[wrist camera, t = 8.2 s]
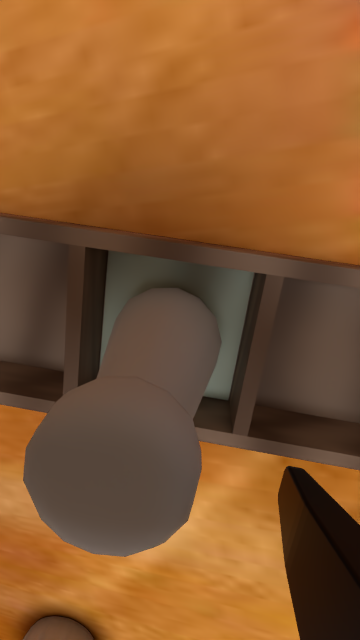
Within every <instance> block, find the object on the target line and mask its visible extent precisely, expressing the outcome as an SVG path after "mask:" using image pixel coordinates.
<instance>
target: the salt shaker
mask: <svg viewBox="0 0 360 640" xmlns="http://www.w3.org/2000/svg"><path fill="white" fill-rule="evenodd" d="M221 343H222V341H221V337H220V332H219V328H218V323H217V319H216V317H215V316H214V315H213V313H212V312H211V311H210V310H209V309H208V307H207V306H206V305H205V304H204V303H203V302H202V300H201V299H200V298H198V297H196V296H194V295H192V294H190V293H188V292H185V291H183V290H181V289H179V288H152V289H149V290H147V291H145V292H143V293H141V294H139V295H137V296H135V297H133V298H131V299H129V300H128V301H127V303H126V304H125V306H124V307H123V309H122V310H121V312H120V313H119V315H118V316H117V318H116V320H115V323H114V326H113V329H112V332H111V335H110V338H109V341H108V344H107V347H106V350H105V354H104V357H103V360H102V363H101V366H100V369H99V372H98V375H97V378H96V379H95V380H93V381H90V382H88V383H86V384H84V385H81V386H79V387H77V388H75V389H72V390H70V391H68V392H67V393H66V394H64V395H63V396H62V397H61V398H60V399H59V400H58V401H57V402H56V403H55V404H54V405H53V407H52V408H51V409H50V411H49V412H48V414H47V415H46V417H45V418H44V419H43V421H42V422H41V424H40V425H39V427H38V428H37V429H36V431H35V433H34V435H33V437H32V438H31V440H30V442H29V444H28V446H27V447H26V453H25V465H24V477H23V481H24V483H25V485H26V487H27V489H28V492H29V494H30V496H31V498H32V500H33V503H34V505H35V507H36V509H37V511H38V513H39V516H40V518H41V520H42V521H44V522H45V523H46V524H47V525H48V526H49V527H50V528H51V529H52V530H53V531H54V532H55V533H56V534H57V535H58V536H59V537H60V538H61V539H62V540H63V541H65V542H67V543H69V544H72V545H74V546H76V547H79V548H81V549H83V550H86V551H88V552H90V553H93V554H101V555H112V556H124V557H126V556H129V555H132V554H135V553H138V552H141V551H144V550H147V549H150V548H153V547H156V546H158V545H160V544H162V543H164V542H166V541H167V540H168V539H169V538H170V537H171V536H172V535H173V534H174V533H175V532H176V531H177V530H178V529H179V528H180V527H182V526H183V525H184V524H185V523H186V522H187V521H188V518H189V515H190V511H191V508H192V505H193V501H194V498H195V493H196V489H197V485H198V481H199V477H200V473H201V469H202V466H201V449H200V445H199V441H198V437H197V434H196V430H195V426H194V422H193V418H194V416H195V413H196V411H197V409H198V406H199V404H200V402H201V399H202V397H203V395H204V392H205V390H206V387H207V385H208V383H209V380H210V378H211V376H212V373H213V371H214V369H215V366H216V363H217V359H218V355H219V351H220V347H221Z"/></svg>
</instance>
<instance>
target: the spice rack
mask: <svg viewBox="0 0 360 640" xmlns="http://www.w3.org/2000/svg"><path fill="white" fill-rule="evenodd" d="M152 288H179V289H181V290H183V291H185V292H188V293H190V294H192V295H194V296H196V297H198V298H200V299H201V300H202V302H203V303H204V304H205V305H206V306H207V307H208V309H209V310H210V311H211V312H212V313H213V315H214V316H215V317H216V319H217V323H218V328H219V332H220V337H221V341H222V343H221V347H220V351H219V355H218V359H217V363H216V366H215V369H214V371H213V373H212V376H211V378H210V380H209V383H208V385H207V387H206V390H205V392H204V395H203V397H202V399H201V402H200V404H199V406H198V409H197V411H196V413H195V416H194V418H193V422H194V426H195V430H196V434H197V437H198V441H203V442H208V443H214V444H219V445H225V446H230V447H236V448H241V449H247V450H252V451H257V452H263V453H268V454H274V455H279V456H285V457H290V458H296V459H301V460H307V461H312V462H317V463H323V464H328V465H334V466H339V467H345V468H350V469H356V470H360V266H358V265H352V264H345V263H338V262H331V261H324V260H318V259H311V258H304V257H297V256H290V255H284V254H277V253H270V252H263V251H256V250H250V249H243V248H236V247H229V246H222V245H216V244H209V243H202V242H195V241H188V240H182V239H175V238H168V237H161V236H154V235H148V234H141V233H134V232H127V231H120V230H114V229H107V228H100V227H93V226H86V225H80V224H73V223H66V222H59V221H52V220H46V219H39V218H32V217H25V216H18V215H12V214H5V213H0V404H1V405H7V406H12V407H18V408H23V409H28V410H34V411H39V412H45V413H48V412H49V411H50V409H51V408H52V407H53V405H54V404H55V403H56V402H57V401H58V400H59V399H60V398H61V397H62V396H63V395H64V394H66V393H67V392H68V391H70V390H72V389H75V388H77V387H79V386H81V385H84V384H86V383H88V382H90V381H93V380H95V379H96V378H97V375H98V372H99V369H100V366H101V363H102V360H103V357H104V354H105V350H106V347H107V344H108V341H109V338H110V335H111V332H112V329H113V326H114V323H115V320H116V318H117V316H118V315H119V313H120V312H121V310H122V309H123V307H124V306H125V304H126V303H127V301H128V300H129V299H131V298H133V297H135V296H137V295H139V294H141V293H143V292H145V291H147V290H149V289H152Z"/></svg>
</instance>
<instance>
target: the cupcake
mask: <svg viewBox="0 0 360 640" xmlns="http://www.w3.org/2000/svg"><path fill="white" fill-rule="evenodd" d="M23 640H94V639H93V637H92V635H91V634H90V632H89V631H88V630H87V629H86V628H85V627H83V626H82V625H81V624H79V623H77V622H76V621H74V620H72V619H68V618H64V617H58V616H51V617H45V618H42V619H40V620H39V621H37V622H36V623H35V624H34V625H33V626H32V627H31V628H30V629H29V631H28V632H27V634H26V635H25V637H24V638H23Z"/></svg>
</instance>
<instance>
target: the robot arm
mask: <svg viewBox="0 0 360 640" xmlns="http://www.w3.org/2000/svg"><path fill="white" fill-rule="evenodd" d="M278 505H279V515H280V524H281V534H282V543H283V553H284V561H285V568H286V574H287V579H288V584H289V588H290V593H291V598H292V603H293V608H294V612H295V617H296V622H297V627H298V632H299V636H300V640H360V525H359V524H358V523H357V522H356V521H355V520H354V519H353V518H352V517H351V516H350V515H349V514H348V513H347V512H346V511H345V510H344V509H343V508H342V507H341V506H340V505H339V504H338V503H337V502H336V501H335V500H334V499H333V498H332V497H331V496H330V495H329V494H328V493H327V492H326V491H325V490H324V489H323V488H322V487H321V486H320V485H319V484H318V483H317V482H316V481H315V480H314V479H313V478H312V477H311V476H310V475H309V474H308V473H307V472H306V471H305V470H304V469H302V468H297V467H292V466H288V467H286V469H285V471H284V474H283V478H282V481H281V485H280V488H279V492H278Z"/></svg>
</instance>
